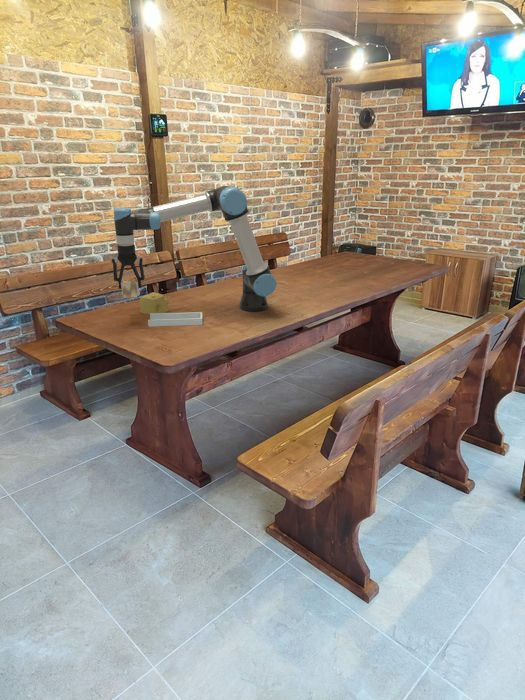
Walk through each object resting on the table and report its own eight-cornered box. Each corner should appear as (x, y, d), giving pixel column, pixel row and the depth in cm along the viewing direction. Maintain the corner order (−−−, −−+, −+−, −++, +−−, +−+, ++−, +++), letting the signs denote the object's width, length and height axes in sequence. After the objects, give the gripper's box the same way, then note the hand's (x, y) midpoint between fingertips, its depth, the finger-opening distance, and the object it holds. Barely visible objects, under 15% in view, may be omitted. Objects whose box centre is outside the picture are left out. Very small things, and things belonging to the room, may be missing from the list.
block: (137, 281, 226) (124, 281, 225) (135, 284, 220) (122, 284, 219) (138, 294, 228) (125, 294, 227) (136, 297, 222) (123, 297, 222)
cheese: (169, 313, 250) (168, 294, 246) (155, 319, 241) (154, 299, 237) (154, 310, 255) (153, 291, 251) (139, 315, 246) (138, 296, 242)
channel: (202, 320, 239) (202, 312, 237) (202, 327, 229) (202, 318, 227) (150, 322, 236) (149, 313, 234) (148, 329, 226) (147, 320, 224)
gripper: (148, 242, 221) (152, 292, 229) (105, 243, 219) (111, 293, 227) (146, 245, 214) (151, 296, 222) (102, 246, 212) (108, 298, 220)
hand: (131, 295), depth 225 cm, fingers closed on block, 6 cm apart
